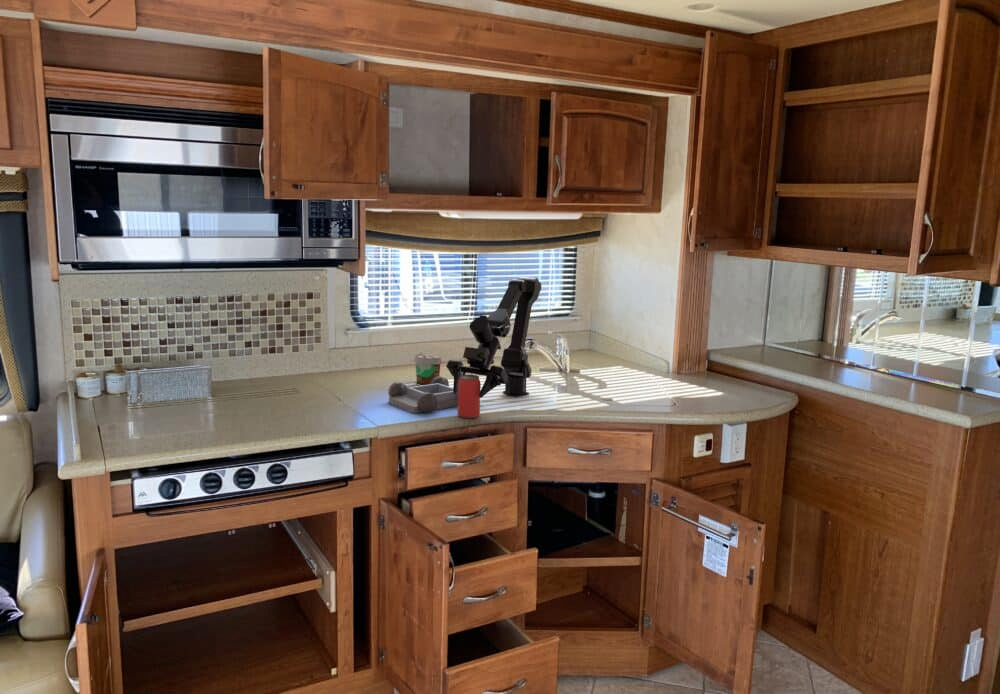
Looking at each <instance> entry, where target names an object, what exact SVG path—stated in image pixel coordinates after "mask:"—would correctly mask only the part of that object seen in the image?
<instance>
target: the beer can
mask: <svg viewBox="0 0 1000 694" xmlns="http://www.w3.org/2000/svg"><path fill="white" fill-rule="evenodd" d="M481 386H482V384H481V381H480V375H479V376H478V375H477V374H465V375H462V376H460V380H459V384H458V406H457V415H458V416H459V417H460V418H463V419H476V418H478V417H480V413H481V409H480V408H481V398H480V397H479V394H480V391H481V389H482V387H481Z"/></svg>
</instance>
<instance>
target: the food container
mask: <svg viewBox="0 0 1000 694" xmlns="http://www.w3.org/2000/svg"><path fill="white" fill-rule="evenodd" d="M413 362H414V363H415V375H416V376H415V378H416V384H417V385H418V384H419V385H418V386H421V385H429V384H431V381H432V380H433V379H434V378H435V377H437V376H440V373H441V365H442V364H443V363H442V357H437V358H436V357H433V356H428V355H424V354H423V352H417V353H415V354H414V356H413Z"/></svg>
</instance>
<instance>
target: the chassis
mask: <svg viewBox="0 0 1000 694" xmlns="http://www.w3.org/2000/svg"><path fill="white" fill-rule="evenodd" d="M387 393H388V404H389V403H390V404H389V405H391V404H392V406H394V405H395V407H397V406H398V407H397V408H399V407H400V409H402V408H403V409H402V410H404V409H406V410H405V411H407V410H409V411H411V412H410V413H412V412H413V413H412V414H414V413H415V414H418V413H417V412H420V413H425V414H430V413H429V412H431V413H433V412H434V411H436V410H435V409H437V410H442V408H443V409H448V407H449V408H453V407H454V408H455V407H458V391H457V392H456V394H454V393H453V387H451V386H450V385H449V380H448V378H447V377H444V376H442V375H441V376H440V375H439V376H437V377H435V378H434V379H433V380H432V381H431V384H429V385H422V386H421V385H417V386H410V387H408V386H407V384H406V383H403V382H400V381H395V382H393V383H392V384H390V386H389V388H388V392H387ZM409 411H408V412H409Z"/></svg>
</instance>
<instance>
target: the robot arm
mask: <svg viewBox="0 0 1000 694" xmlns="http://www.w3.org/2000/svg"><path fill="white" fill-rule="evenodd" d="M541 291H542V283H541V281H539V279H538V278H536V277H525V276H519V277H518V278H517V279H509V281H508V284H507V289H506V290H505V293H504V294H503V296H502V298H501V301H500V302H499V304H498V306H497V308H496V309H495V310H494V311H493V312H490V313H489V315H488V316H487V315H485V314H480V315H479V317H477V318H475V319H473V320H472V321H471V322H470V324H469V330H470V331H471V334H472V335H473V337H474V339H475V341H476V342H477V343H478V346H477V347H469V346H464V347H465V348H464V351H463V356H462V358H463V359H466V363H467V365H465V364H463V362H462V360H456V359H449V360H448V361H447V363H446V365H445V366H446V368H447V370H448V371H449V373H450V375H451V376H452V377H453V387H452V388H453V393H454V394H456V392H457V391H458V384H459V380H460V376H462V375H467V374H470V375H477V376H478V375H479V376H484V377H485V380H484V382H483V385H482V387H481V388H480V394H479V397H480V399H482V398H483V397H484V396H486V395H487V394H488V393H489V392H490V391H492V390H493V389H495V388H496V387H498V386H501V385H504V387H505V388H504V390H503V391H502V393H503V394H505V395H509V396H512V397H520V396H525V395H530V392H528V391H527V379H528V378H531V375H532V371H533V370H532V367H531V365H530V364H529V360H528V359H529V355H528V352H527V350H526V341H527V335H528V331H529V325H530V319H531V311H532V307H533V305H534V304H535V302H536V301H537V300H538V299H539V295H540V292H541ZM515 309H516V311H514V310H515ZM514 312H515V316H514V322H513V327H512V334H511V337H510V338H511V339H510V344H509V346H508V347H507V348H506V347H505V348H504V349H503V352H502V358H501V361H500V365H495V364H494V363H495V360H494V358H495V355H496V353H497V352H498V350H502V345H501V343H500V342H501V341H500V340H499V338H506V337H507V336H508V334H510V331H511V326H512V324H511V321H510V319H511V317H512V315H513V313H514ZM468 365H469V366H468Z"/></svg>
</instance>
